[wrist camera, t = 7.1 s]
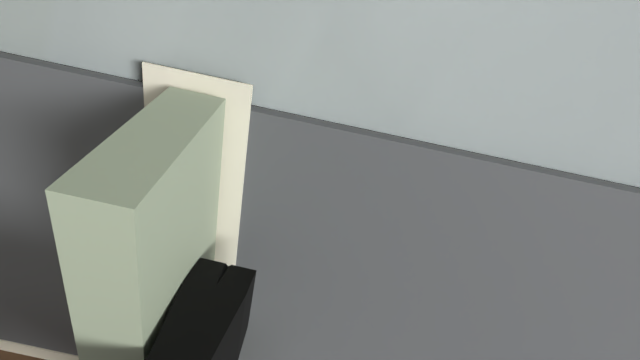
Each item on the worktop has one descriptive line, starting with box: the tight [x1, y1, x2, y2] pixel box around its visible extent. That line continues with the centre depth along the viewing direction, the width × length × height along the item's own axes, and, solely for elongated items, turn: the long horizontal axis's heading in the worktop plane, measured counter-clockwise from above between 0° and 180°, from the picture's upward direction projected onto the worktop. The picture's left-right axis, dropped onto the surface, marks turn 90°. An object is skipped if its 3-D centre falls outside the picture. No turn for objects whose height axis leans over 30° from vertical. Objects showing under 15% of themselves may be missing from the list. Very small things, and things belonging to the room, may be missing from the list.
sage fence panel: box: [45, 86, 226, 360], centre depth 10 cm, size 1×11×4 cm, turn 169°
